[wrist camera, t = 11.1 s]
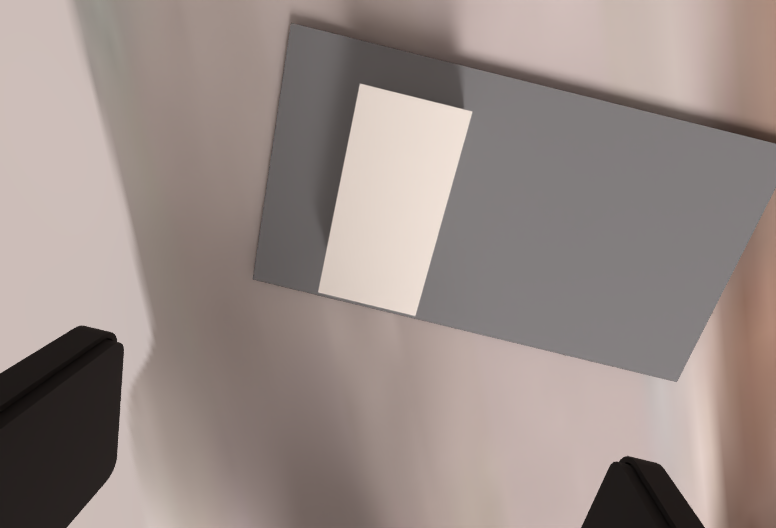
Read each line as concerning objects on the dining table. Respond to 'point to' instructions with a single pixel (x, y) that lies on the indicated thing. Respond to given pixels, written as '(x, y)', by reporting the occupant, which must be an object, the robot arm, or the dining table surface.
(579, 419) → the dining table surface
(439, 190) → the white rectangular block
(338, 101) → the mat
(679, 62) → the dining table surface
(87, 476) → the robot arm
